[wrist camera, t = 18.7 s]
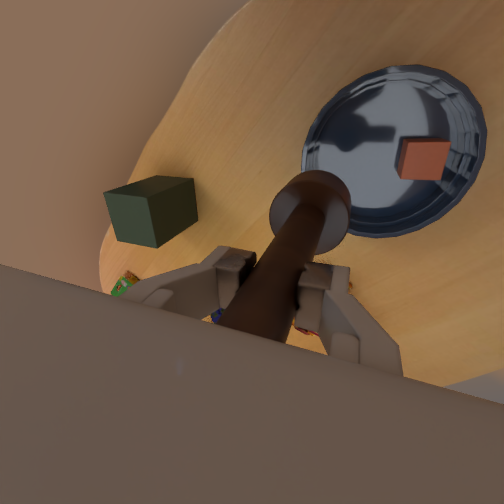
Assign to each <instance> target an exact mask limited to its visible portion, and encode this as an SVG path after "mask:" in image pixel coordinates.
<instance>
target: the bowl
mask: <svg viewBox="0 0 504 504" xmlns="http://www.w3.org/2000/svg"><path fill="white" fill-rule="evenodd" d="M423 138H443V139H445V140H448V141H451V146H450V149H449V153H448V156H447V159H446V163H445V166H444V170H443V173H442V177H441V180H411V179H400V177H399V175H398V174H397V169H398V164H399V159H400V154H401V149H402V145H403V140H404V139H423ZM486 140H487V127H486V123H485V119H484V115H483V111H482V107H481V105H480V104H479V102H478V101H477V100H476V98H475V97H474V95H473V94H472V92H471V91H470V90H469V88H468V87H467V86H466V85H465V84H464V83H462V82H461V81H459V80H458V79H456V78H455V77H453V76H452V75H450V74H449V73H447V72H445V71H443V70H439V69H435V68H431V67H427V66H423V65H400V66H391V67H390V66H389V67H386V68H383V69H380V70H377V71H374V72H371V73H368V74H365V75H363V76H361V77H360V78H358V79H357V80H355V81H353V82H352V83H350V84H349V85H347V86H346V87H344V88H342V89H341V90H340V91H339V92H338V93H337V94H336V95H335V96H334V97H333V98H332V99H331V100H330V101H329V102H328V103H327V104H326V105H325V106H324V107H323V108H322V109H321V111H320V113H319V114H318V116H317V117H316V119H315V121H314V122H313V124H312V126H311V127H310V129H309V132H308V135H307V138H306V141H305V144H304V147H303V151H302V163H301V173H303V172H305V171H309V170H324V171H327V172H330V173H332V174H334V175H336V176H338V177H339V178H340V179H341V180H342V181H343V182H344V183H345V185H346V186H347V188H348V190H349V192H350V195H351V214H350V222H349V228H348V231H347V233H350V234H353V235H355V236H362V237H369V238H386V237H397V236H401V235H404V234H407V233H411V232H414V231H417V230H420V229H422V228H424V227H426V226H427V225H429V224H431V223H433V222H435V221H437V220H438V219H440V218H441V217H443V216H444V215H445V214H446V213H447V212H448V211H450V210H451V209H452V208H453V207H454V206H455V205H457V204H458V203H459V202H460V201H461V199H462V198H463V197H464V195H465V194H466V193H467V191H468V190H469V189H470V187H471V186H472V184H473V183H474V182H475V180H476V177H477V175H478V173H479V170H480V168H481V165H482V163H483V160H484V158H485V150H486Z"/></svg>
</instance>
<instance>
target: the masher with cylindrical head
mask: <svg viewBox="0 0 504 504" xmlns="http://www.w3.org/2000/svg"><path fill="white" fill-rule="evenodd" d="M350 214H351V195H350V192H349V190H348V188H347V186H346V185H345V183H344V182H343V181H342V180H341V179H340V178H339V177H338V176H336V175H334V174H332V173H330V172H327V171H324V170H309V171H305V172H303V173H300V174H299V175H297V176H295V177H294V178H293V179H292V180H291V181H290V182H289V183H288V184H287V185H286V186H285V187H284V188H283V189H282V190H281V191H280V192H279V193H278V194H277V195H276V196H275V198H274V200H273V202H272V204H271V207H270V213H269V220H270V225H271V229H272V231H273V233H274V235H275V237H274V239H273V240H272V242H271V243H270V245H269V246H268V248H267V249H266V251H265V252H264V253H263V255H262V256H261V258H260V259H259V261H258V262H257V264H256V265H255V267H254V268H253V270H252V271H251V272H250V274H249V275H248V277H247V278H246V280H245V281H244V283H243V284H242V286H241V287H240V289H239V290H238V291H237V293H236V294H235V296H234V297H233V299H232V300H231V302H230V303H229V305H228V306H227V307H226V309H225V310H224V312H223V313H222V315H221V316H220V318H219V319H218V321H217V322H216V324H217V325H220V326H224V327H227V328H231V329H235V330H238V331H242V332H245V333H249V334H253V335H256V336H260V337H263V338H267V339H270V340H274V341H278V342H281V343H286V340H287V337H288V334H289V331H290V328H291V325H292V322H293V319H294V316H295V313H296V309H297V306H298V302H297V301H296V298H297V288H298V282H299V279H300V276H301V274H302V272H304V266H305V263H306V261H309V262H312V261H313V258H314V255H319V254H323V253H326V252H328V251H330V250H332V249H333V248H335V247H336V246H337V245H339V244H340V242H341V241H342V240H343V239H344V237H345V235H346V233H347V231H348V228H349V222H350Z"/></svg>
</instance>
